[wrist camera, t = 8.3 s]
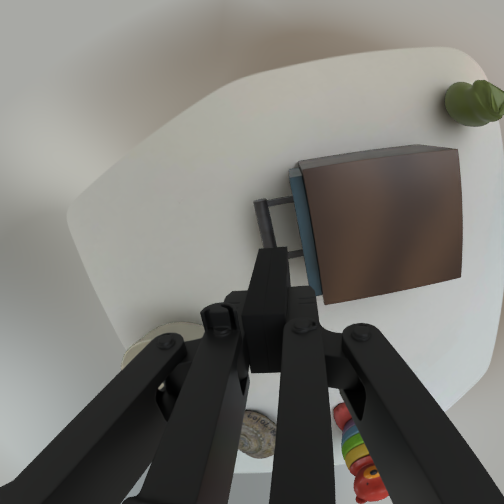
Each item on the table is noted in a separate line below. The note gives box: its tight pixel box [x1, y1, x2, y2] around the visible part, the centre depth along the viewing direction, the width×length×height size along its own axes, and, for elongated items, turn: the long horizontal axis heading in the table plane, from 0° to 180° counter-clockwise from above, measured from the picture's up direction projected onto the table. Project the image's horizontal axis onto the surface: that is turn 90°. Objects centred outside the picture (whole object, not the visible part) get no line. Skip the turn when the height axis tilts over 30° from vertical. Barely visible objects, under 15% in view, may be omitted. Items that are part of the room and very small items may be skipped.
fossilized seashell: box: [238, 411, 277, 459], centre depth 48 cm, size 11×11×7 cm
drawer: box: [254, 167, 323, 296], centre depth 31 cm, size 18×12×8 cm, turn 103°
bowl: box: [121, 322, 205, 390], centre depth 40 cm, size 16×16×10 cm
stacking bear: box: [334, 403, 389, 504], centre depth 38 cm, size 11×10×18 cm
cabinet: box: [298, 145, 463, 305], centre depth 30 cm, size 15×13×10 cm
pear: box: [445, 80, 504, 127], centre depth 24 cm, size 6×5×10 cm
